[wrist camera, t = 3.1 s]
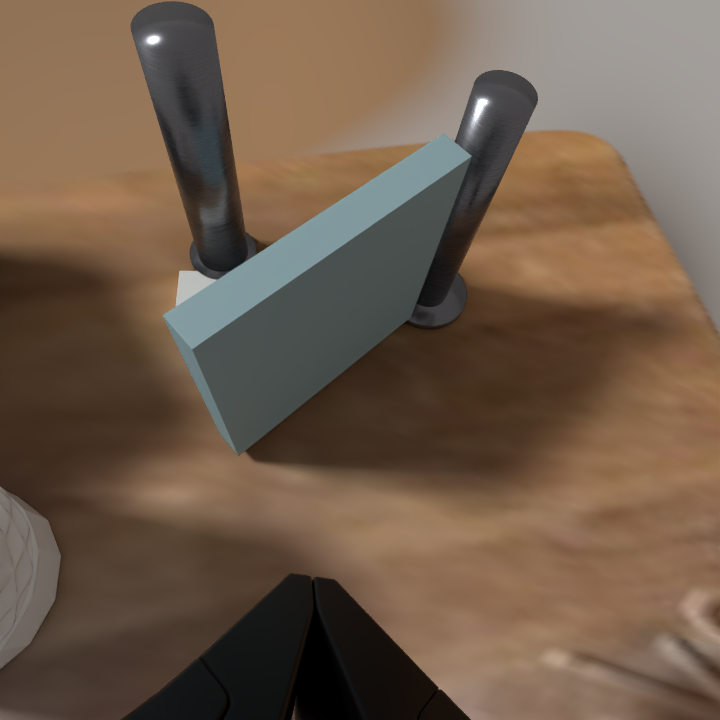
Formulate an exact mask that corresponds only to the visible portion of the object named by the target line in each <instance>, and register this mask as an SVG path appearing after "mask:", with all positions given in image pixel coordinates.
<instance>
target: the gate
mask: <svg viewBox="0 0 720 720" xmlns="http://www.w3.org/2000/svg"><path fill="white" fill-rule="evenodd" d="M471 157H472V156H471V155H470V154H469V153H468V152H466V151H465V150H464V149H463V148H461V147H460V146H459V145H458V144H456V143H455V142H454V141H453V140H452V139H450V138H449V137H448V136H447V135H445V134H442V135H440V136H439V137H438V138H436V139H434V140H433V141H431V142H430V143H428V144H427V145H425V146H423V147H422V148H420V149H419V150H417V151H416V152H414V153H413V154H411V155H410V156H408V157H406V158H405V159H403V160H402V161H400V162H399V163H397V164H396V165H394V166H393V167H391V168H389V169H388V170H386V171H385V172H383V173H382V174H380V175H379V176H377V177H376V178H374V179H372V180H371V181H369V182H368V183H366V184H365V185H363V186H362V187H360V188H359V189H357V190H355V191H354V192H352V193H351V194H349V195H348V196H346V197H345V198H343V199H342V200H340V201H338V202H337V203H335V204H334V205H332V206H331V207H329V208H328V209H326V210H325V211H323V212H321V213H320V214H318V215H317V216H315V217H314V218H312V219H311V220H309V221H308V222H306V223H304V224H303V225H301V226H300V227H298V228H297V229H295V230H294V231H292V232H291V233H289V234H287V235H286V236H284V237H283V238H281V239H280V240H278V241H277V242H275V243H274V244H272V245H270V246H269V247H267V248H266V249H264V250H263V251H261V252H260V253H258V254H257V255H255V256H253V257H252V258H250V259H249V260H247V261H246V262H244V263H243V264H241V265H240V266H238V267H236V268H235V269H233V270H232V271H230V272H229V273H227V274H226V275H224V276H223V277H221V278H219V279H218V280H216V281H215V282H213V283H212V284H210V285H209V286H207V287H206V288H204V289H202V290H201V291H199V292H198V293H196V294H195V295H193V296H192V297H190V298H189V299H187V300H185V301H184V302H182V303H181V304H179V305H178V306H176V307H175V308H173V309H172V310H170V311H168V312H167V313H165V314H164V315H162V316H163V318H164V320H165V322H166V324H167V326H168V328H169V330H170V332H171V334H172V336H173V338H174V340H175V342H176V344H177V347H178V349H179V351H180V353H181V355H182V357H183V359H184V361H185V363H186V365H187V367H188V369H189V371H190V373H191V375H192V377H193V379H194V381H195V384H196V386H197V388H198V390H199V392H200V394H201V396H202V398H203V400H204V402H205V404H206V406H207V408H208V410H209V412H210V414H211V416H212V418H213V420H214V423H215V425H216V427H217V429H218V431H219V433H220V435H221V436H222V437H223V438H224V440H225V441H226V442H227V443H228V444H229V446H230V447H231V448H232V449H233V450H234V452H235V453H236V454H237V455H238V456H239V455H241V454H242V453H243V452H244V451H246V450H247V449H248V448H249V447H251V446H252V445H253V444H254V443H256V442H257V441H258V440H259V439H261V438H262V437H263V436H264V435H265V434H267V433H268V432H269V431H270V430H272V429H273V428H274V427H275V426H277V425H278V424H279V423H280V422H282V421H283V420H284V419H285V418H287V417H288V416H289V415H290V414H292V413H293V412H294V411H295V410H296V409H298V408H299V407H300V406H301V405H303V404H304V403H305V402H306V401H308V400H309V399H310V398H311V397H313V396H314V395H315V394H316V393H318V392H319V391H320V390H321V389H323V388H324V387H325V386H326V385H328V384H329V383H330V382H331V381H332V380H334V379H335V378H336V377H337V376H339V375H340V374H341V373H342V372H344V371H345V370H346V369H347V368H349V367H350V366H351V365H352V364H354V363H355V362H356V361H357V360H359V359H360V358H361V357H362V356H364V355H365V354H366V353H367V352H368V351H370V350H371V349H372V348H373V347H375V346H376V345H377V344H378V343H380V342H381V341H382V340H383V339H385V338H386V337H387V336H388V335H390V334H391V333H392V332H393V331H395V330H396V329H397V328H398V327H399V326H401V325H402V324H403V323H404V322H406V321H407V320H408V319H409V318H411V316H412V313H413V311H414V308H415V305H416V303H417V300H418V297H419V295H420V292H421V289H422V287H423V284H424V282H425V279H426V276H427V274H428V271H429V268H430V266H431V263H432V260H433V258H434V255H435V252H436V250H437V247H438V245H439V242H440V239H441V237H442V234H443V231H444V229H445V226H446V223H447V221H448V218H449V216H450V213H451V210H452V208H453V205H454V202H455V200H456V197H457V194H458V192H459V189H460V187H461V184H462V181H463V179H464V176H465V173H466V171H467V168H468V165H469V163H470V160H471Z"/></svg>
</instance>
